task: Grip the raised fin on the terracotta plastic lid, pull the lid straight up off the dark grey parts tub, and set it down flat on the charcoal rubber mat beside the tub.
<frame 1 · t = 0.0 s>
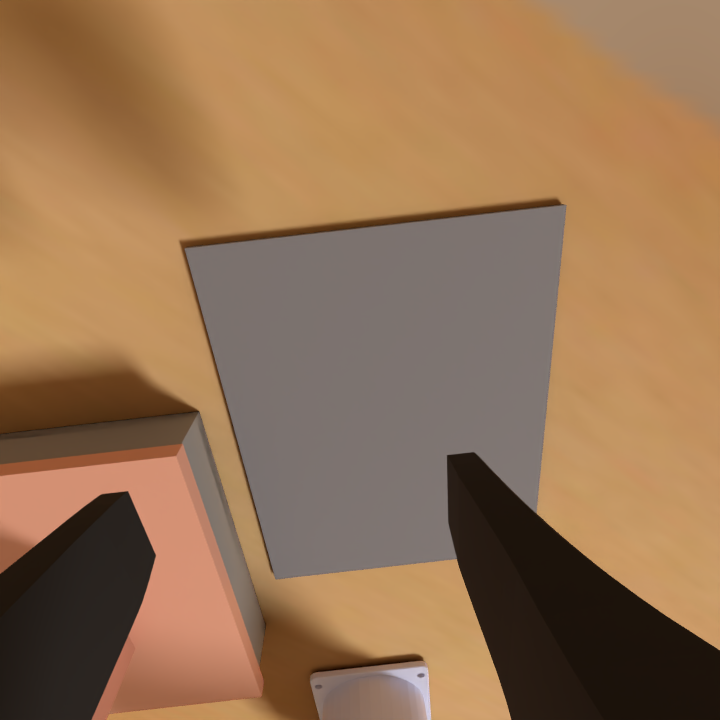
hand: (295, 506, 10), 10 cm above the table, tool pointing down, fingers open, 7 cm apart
mat: (391, 425, 21), on the table
tub: (129, 546, 24), on the table
lid: (102, 596, 21), point 3 cm above the table, touching tub
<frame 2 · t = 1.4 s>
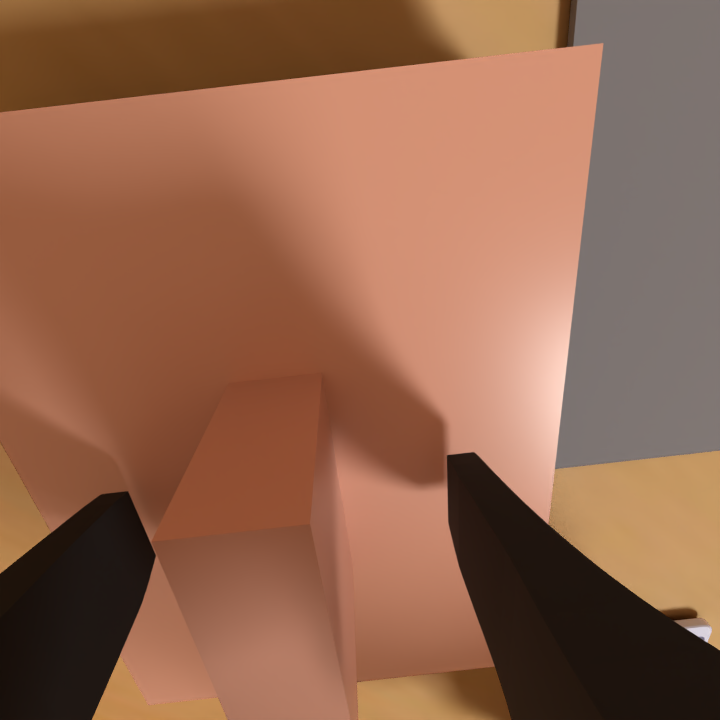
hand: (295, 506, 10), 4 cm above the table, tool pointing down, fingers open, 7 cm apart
lid: (301, 465, 11), point 3 cm above the table, touching tub
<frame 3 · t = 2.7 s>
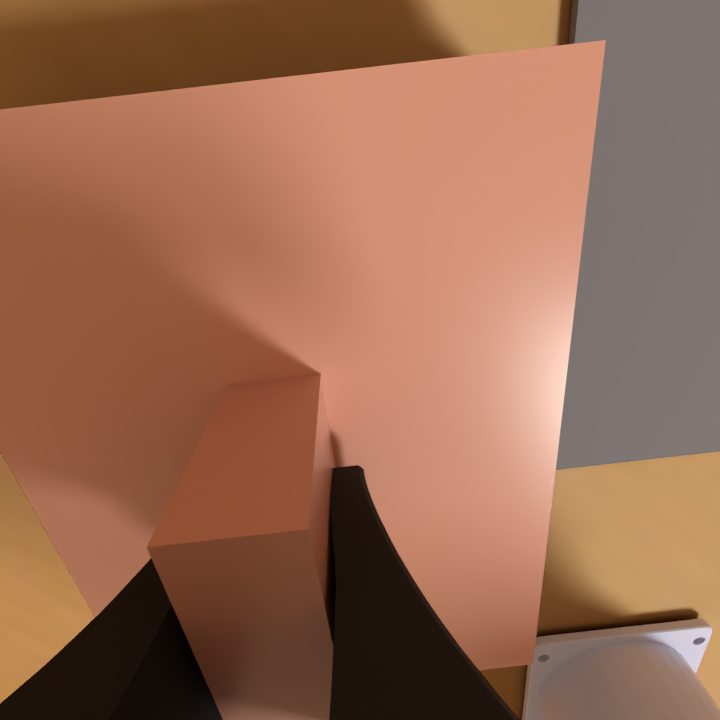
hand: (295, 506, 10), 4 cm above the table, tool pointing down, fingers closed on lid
lid: (299, 467, 11), point 3 cm above the table, touching gripper, tub
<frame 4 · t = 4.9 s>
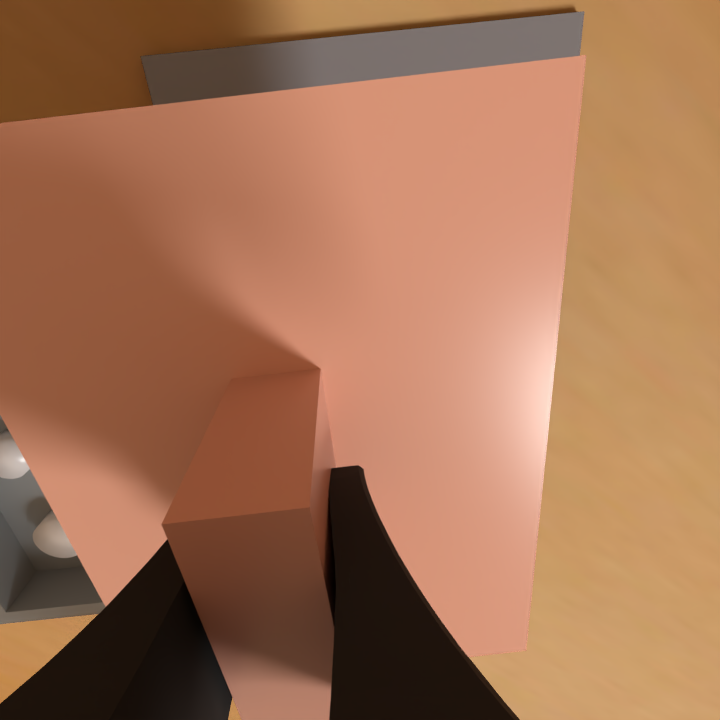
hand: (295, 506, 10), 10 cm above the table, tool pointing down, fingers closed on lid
mat: (381, 301, 19), on the table
tub: (88, 449, 21), on the table
lid: (300, 458, 12), point 9 cm above the table, touching gripper
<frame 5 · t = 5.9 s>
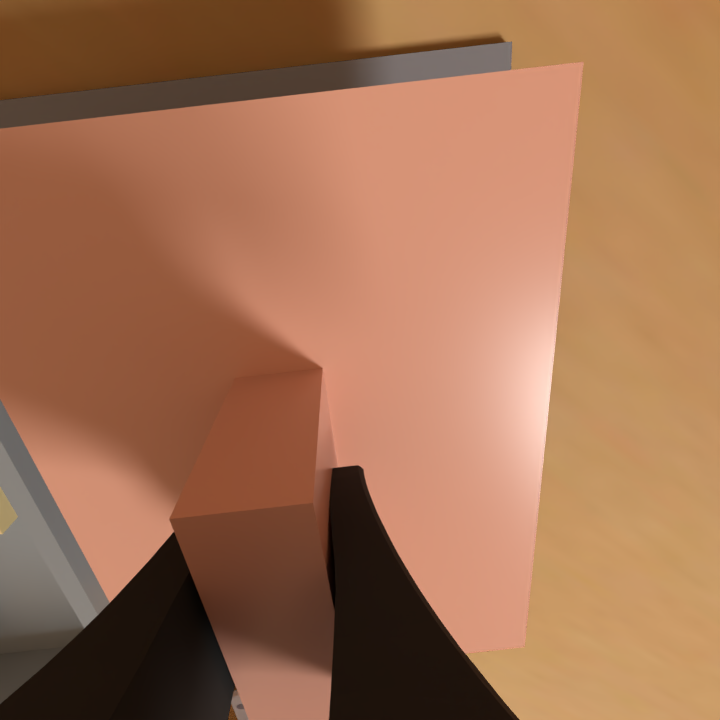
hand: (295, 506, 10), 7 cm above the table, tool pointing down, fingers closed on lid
mat: (298, 373, 16), on the table
lid: (302, 456, 12), point 5 cm above the table, touching gripper
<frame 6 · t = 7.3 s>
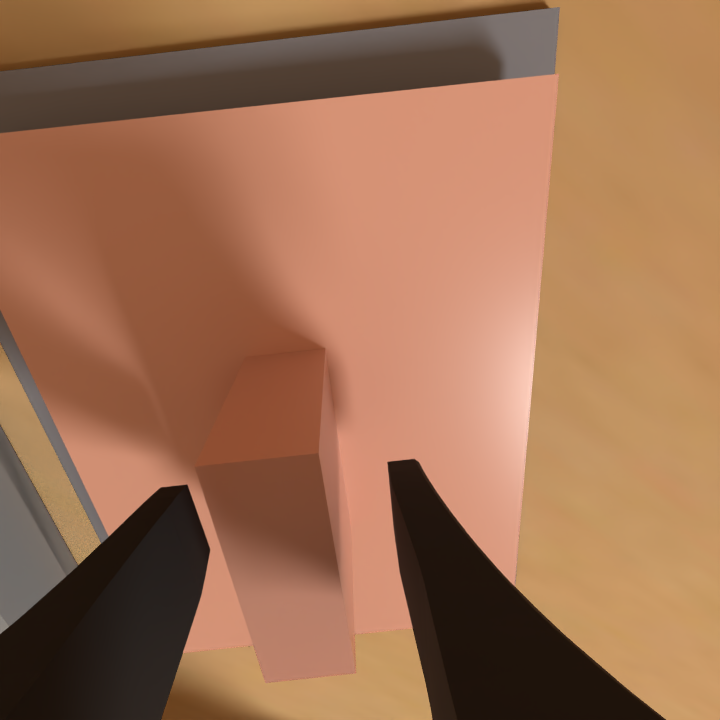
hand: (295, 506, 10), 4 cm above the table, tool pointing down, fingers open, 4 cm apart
mat: (291, 411, 14), on the table
lid: (305, 433, 13), point 1 cm above the table, touching mat
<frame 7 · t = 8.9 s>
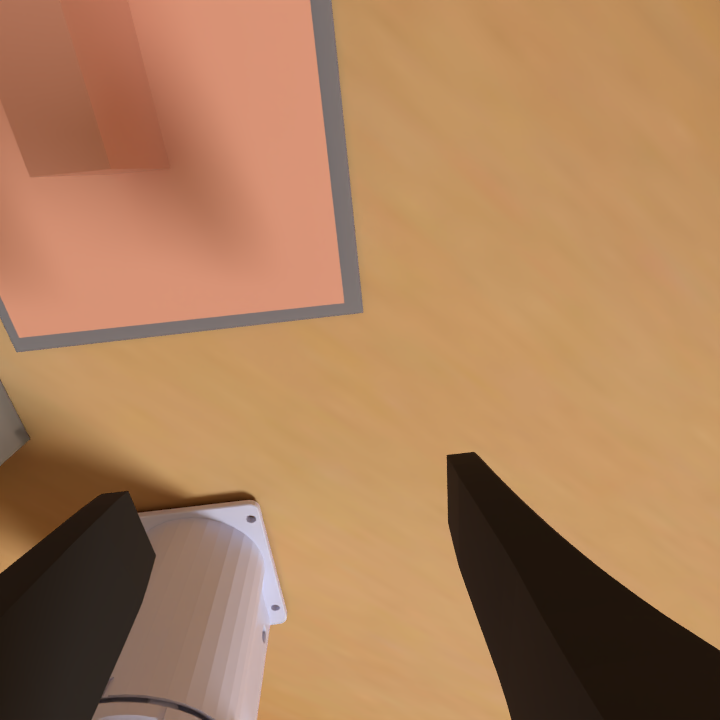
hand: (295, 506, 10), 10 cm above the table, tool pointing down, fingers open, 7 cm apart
mat: (120, 73, 15), on the table
lid: (122, 70, 14), point 1 cm above the table, touching mat
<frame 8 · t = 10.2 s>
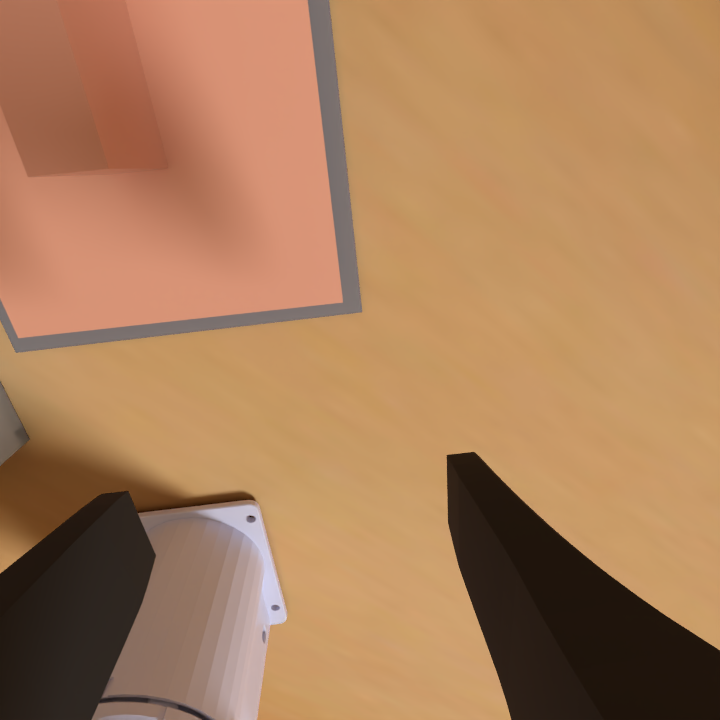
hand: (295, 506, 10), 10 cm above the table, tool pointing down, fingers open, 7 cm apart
mat: (118, 73, 15), on the table
lid: (120, 70, 14), point 1 cm above the table, touching mat
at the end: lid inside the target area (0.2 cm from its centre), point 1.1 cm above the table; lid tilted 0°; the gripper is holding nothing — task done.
